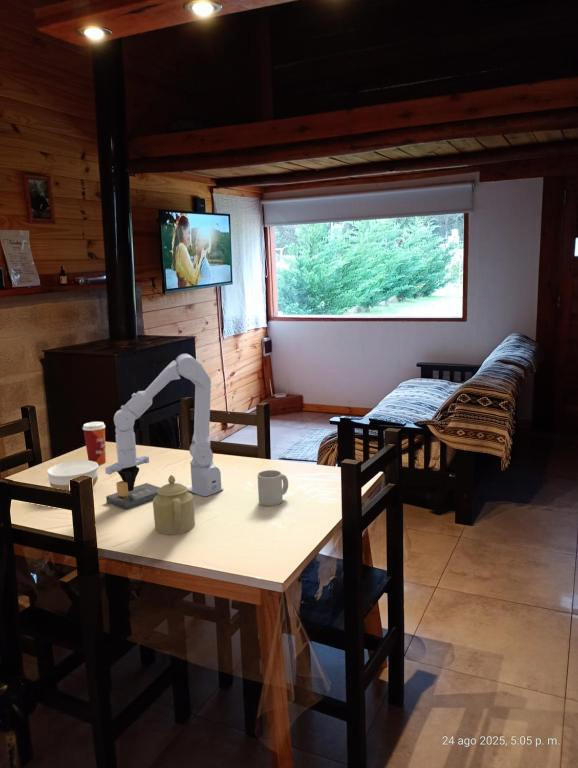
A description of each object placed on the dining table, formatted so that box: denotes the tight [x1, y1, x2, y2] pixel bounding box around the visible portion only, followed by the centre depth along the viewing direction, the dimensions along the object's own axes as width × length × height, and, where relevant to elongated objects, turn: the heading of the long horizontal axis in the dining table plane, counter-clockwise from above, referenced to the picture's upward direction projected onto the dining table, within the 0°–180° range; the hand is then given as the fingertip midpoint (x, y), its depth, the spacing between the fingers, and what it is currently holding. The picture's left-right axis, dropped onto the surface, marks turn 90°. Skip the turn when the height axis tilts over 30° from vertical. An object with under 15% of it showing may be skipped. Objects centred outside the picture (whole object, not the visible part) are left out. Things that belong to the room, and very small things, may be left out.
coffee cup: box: [81, 421, 107, 466], centre depth 237 cm, size 8×8×15 cm
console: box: [105, 482, 161, 511], centre depth 199 cm, size 10×15×2 cm, turn 138°
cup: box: [257, 469, 289, 507], centre depth 193 cm, size 7×10×9 cm
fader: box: [115, 480, 128, 497], centre depth 196 cm, size 3×2×4 cm, turn 48°
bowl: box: [46, 459, 99, 491], centre depth 208 cm, size 16×16×8 cm
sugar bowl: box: [152, 474, 196, 535], centre depth 175 cm, size 15×11×15 cm
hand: (129, 490), depth 199 cm, fingers closed
